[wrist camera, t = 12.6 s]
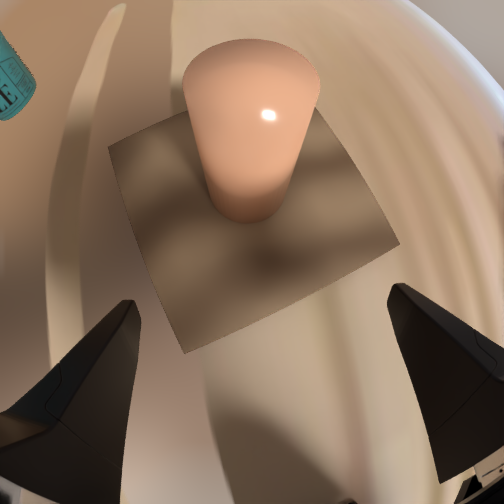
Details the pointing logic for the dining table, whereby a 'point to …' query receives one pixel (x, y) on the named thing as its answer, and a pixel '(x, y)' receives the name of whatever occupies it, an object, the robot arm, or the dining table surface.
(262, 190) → the terracotta cylinder
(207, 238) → the tan flat square block
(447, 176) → the dining table surface
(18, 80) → the beverage bottle
